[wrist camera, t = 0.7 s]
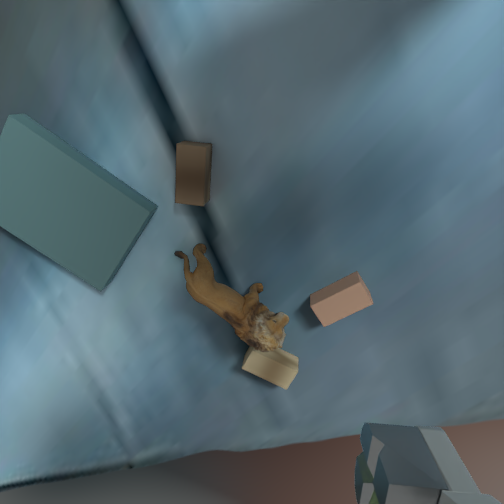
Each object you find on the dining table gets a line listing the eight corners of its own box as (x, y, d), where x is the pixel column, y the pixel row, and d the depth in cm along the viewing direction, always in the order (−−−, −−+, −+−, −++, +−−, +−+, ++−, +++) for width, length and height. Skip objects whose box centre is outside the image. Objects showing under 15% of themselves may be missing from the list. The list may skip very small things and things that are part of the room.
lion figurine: (298, 291, 48) (296, 333, 40) (276, 325, 50) (270, 372, 42) (184, 232, 47) (158, 263, 39) (167, 269, 49) (139, 306, 41)
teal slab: (24, 113, 44) (8, 114, 42) (157, 206, 46) (150, 212, 44) (-14, 201, 49) (-30, 206, 46) (110, 282, 51) (100, 291, 48)
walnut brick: (184, 140, 44) (176, 143, 41) (212, 143, 43) (206, 147, 41) (183, 196, 46) (175, 202, 43) (209, 199, 46) (203, 206, 43)
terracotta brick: (356, 270, 47) (360, 281, 44) (369, 291, 47) (373, 303, 45) (310, 293, 48) (310, 306, 46) (323, 313, 49) (324, 327, 46)
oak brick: (245, 353, 52) (241, 368, 50) (255, 336, 51) (252, 350, 49) (287, 373, 53) (286, 389, 50) (298, 356, 52) (298, 371, 49)
